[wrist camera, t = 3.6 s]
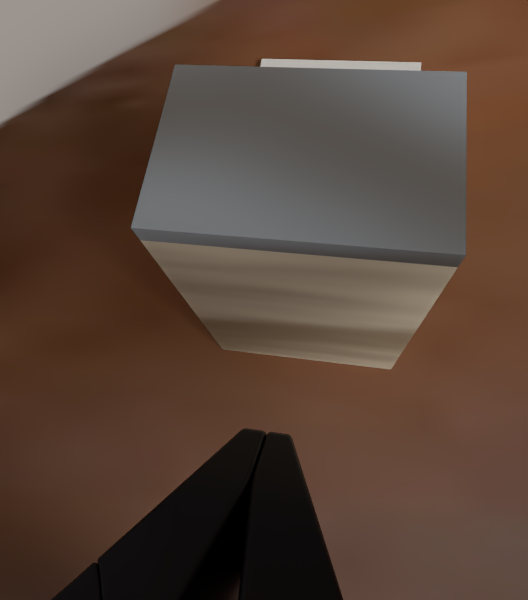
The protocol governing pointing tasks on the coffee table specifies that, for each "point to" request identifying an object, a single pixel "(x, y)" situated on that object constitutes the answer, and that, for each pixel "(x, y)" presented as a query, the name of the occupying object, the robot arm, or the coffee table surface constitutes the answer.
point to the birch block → (308, 205)
